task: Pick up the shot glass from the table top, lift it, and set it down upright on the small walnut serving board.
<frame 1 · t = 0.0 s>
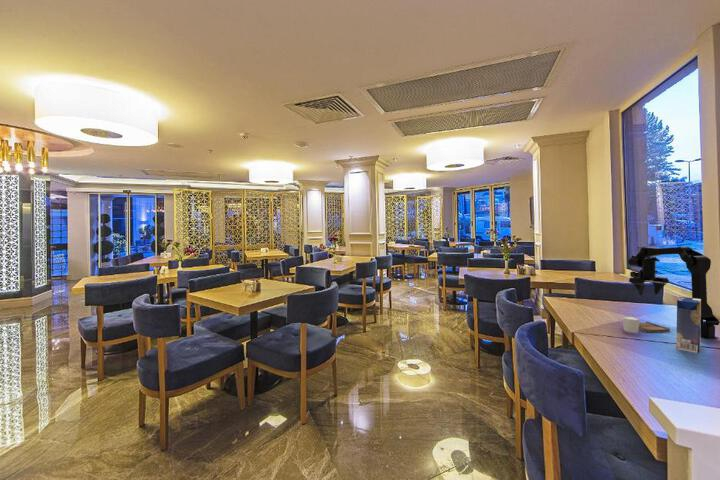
hand: (648, 294, 177), 15 cm above the table, tool pointing down, fingers open, 9 cm apart
serving board: (647, 328, 163), on the table
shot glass: (630, 331, 160), on the table
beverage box: (688, 348, 137), on the table
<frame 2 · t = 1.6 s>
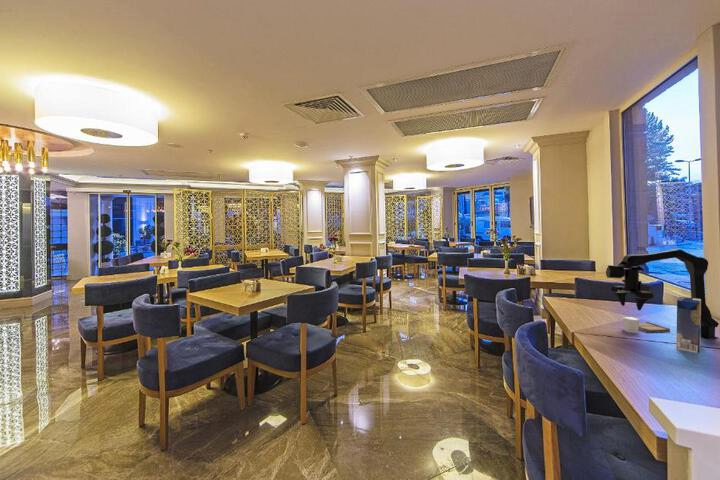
hand: (631, 307, 160), 12 cm above the table, tool pointing down, fingers open, 9 cm apart
nothing on the table moved.
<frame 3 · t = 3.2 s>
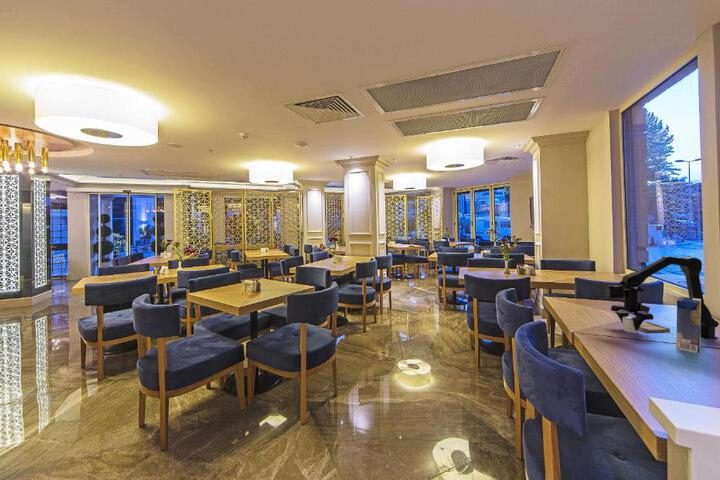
hand: (630, 328, 160), 2 cm above the table, tool pointing down, fingers closed on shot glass, 6 cm apart
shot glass: (630, 331, 160), on the table, touching gripper
everything else where it was.
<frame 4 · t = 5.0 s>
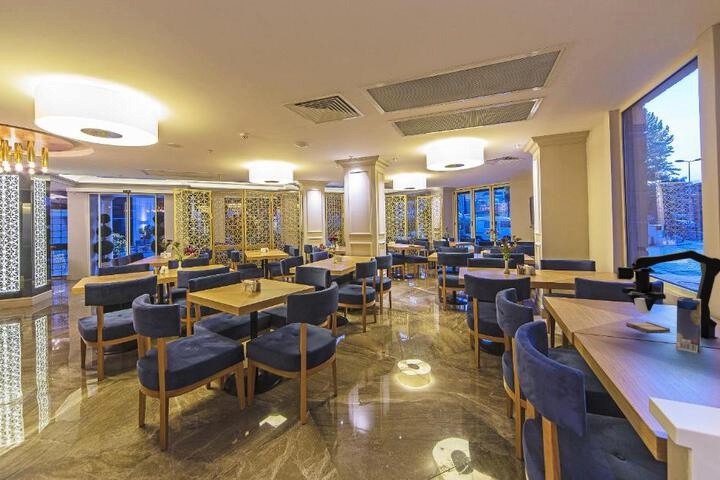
hand: (643, 309, 161), 11 cm above the table, tool pointing down, fingers closed on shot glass, 6 cm apart
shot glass: (643, 312, 161), point 9 cm above the table, touching gripper
everything else where it was.
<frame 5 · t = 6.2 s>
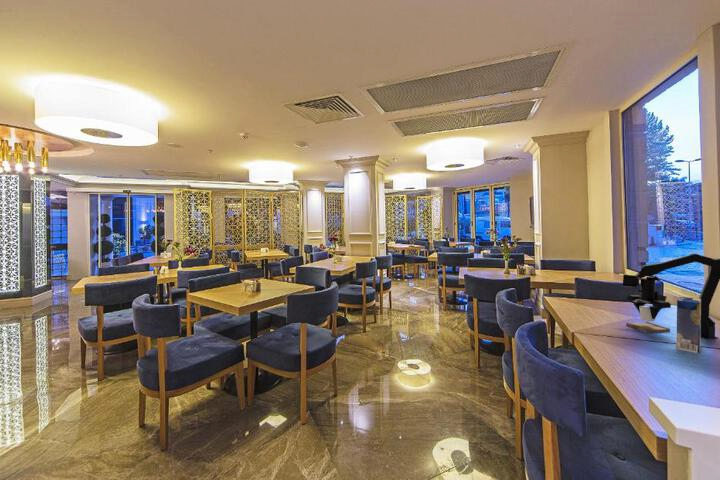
hand: (647, 317, 163), 6 cm above the table, tool pointing down, fingers closed on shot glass, 6 cm apart
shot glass: (647, 320, 163), point 5 cm above the table, touching gripper
everything else where it was.
when the fingers open (4 cm above the table, at t = 7.2 s): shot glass stays where it is, resting on serving board.
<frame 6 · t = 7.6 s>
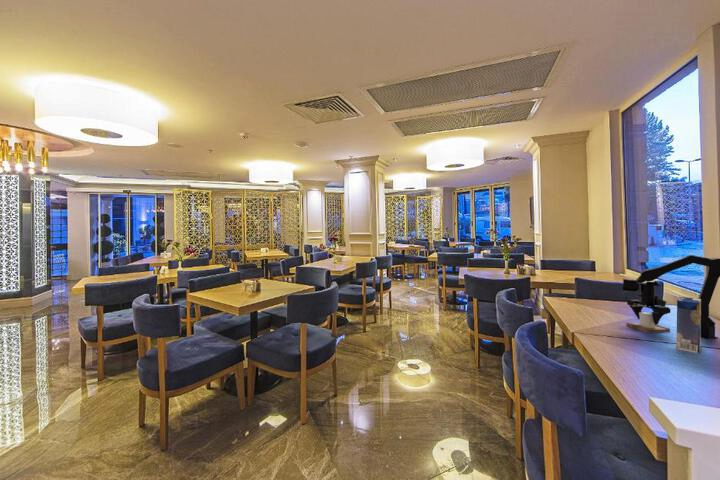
hand: (647, 321, 163), 4 cm above the table, tool pointing down, fingers open, 9 cm apart
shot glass: (647, 326, 163), point 1 cm above the table, touching serving board
everything else where it was.
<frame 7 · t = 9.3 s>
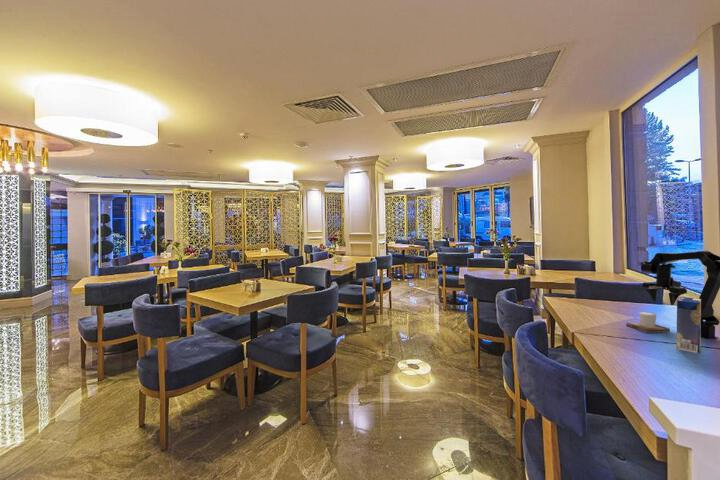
hand: (663, 302, 168), 12 cm above the table, tool pointing down, fingers open, 9 cm apart
nothing on the table moved.
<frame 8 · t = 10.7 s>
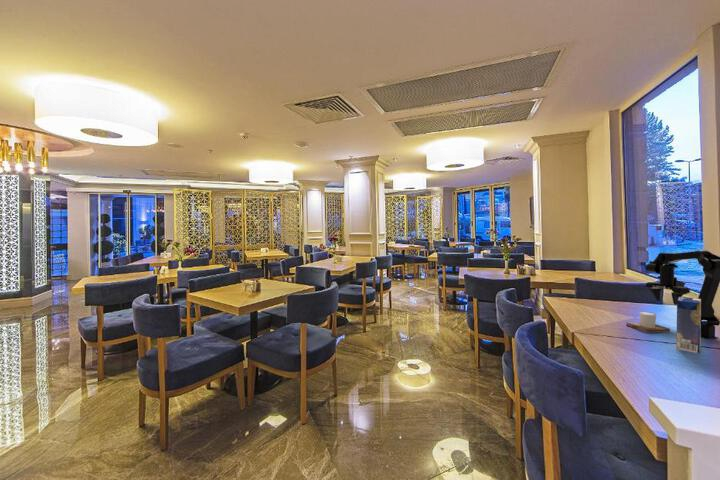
hand: (666, 302, 169), 12 cm above the table, tool pointing down, fingers open, 9 cm apart
nothing on the table moved.
at the end: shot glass inside the target area on the serving board (0.1 cm from its centre), point 1.0 cm above the serving board's base; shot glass tilted 0°; the gripper is holding nothing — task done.
